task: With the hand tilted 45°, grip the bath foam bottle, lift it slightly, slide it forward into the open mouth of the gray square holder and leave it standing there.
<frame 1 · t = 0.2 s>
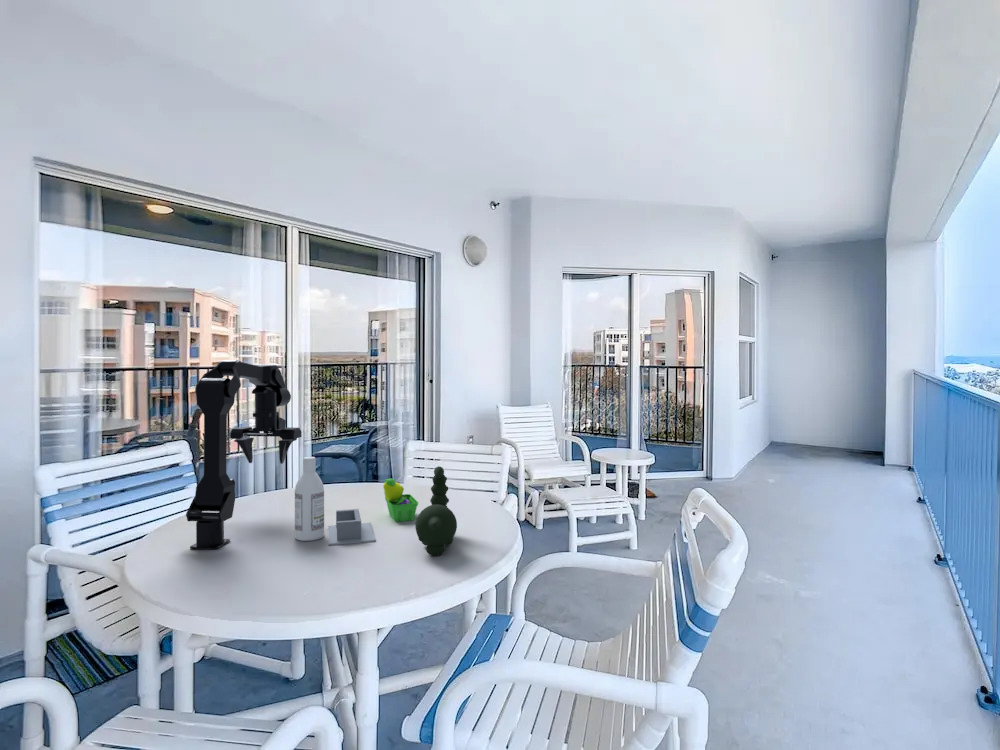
hand: (266, 463, 165), 15 cm above the table, tool pointing down, fingers open, 9 cm apart
dark green ornament: (437, 547, 137), on the table
gray square holder: (336, 535, 146), on the table
bath foam: (309, 538, 144), on the table
fruit basket: (399, 518, 163), on the table
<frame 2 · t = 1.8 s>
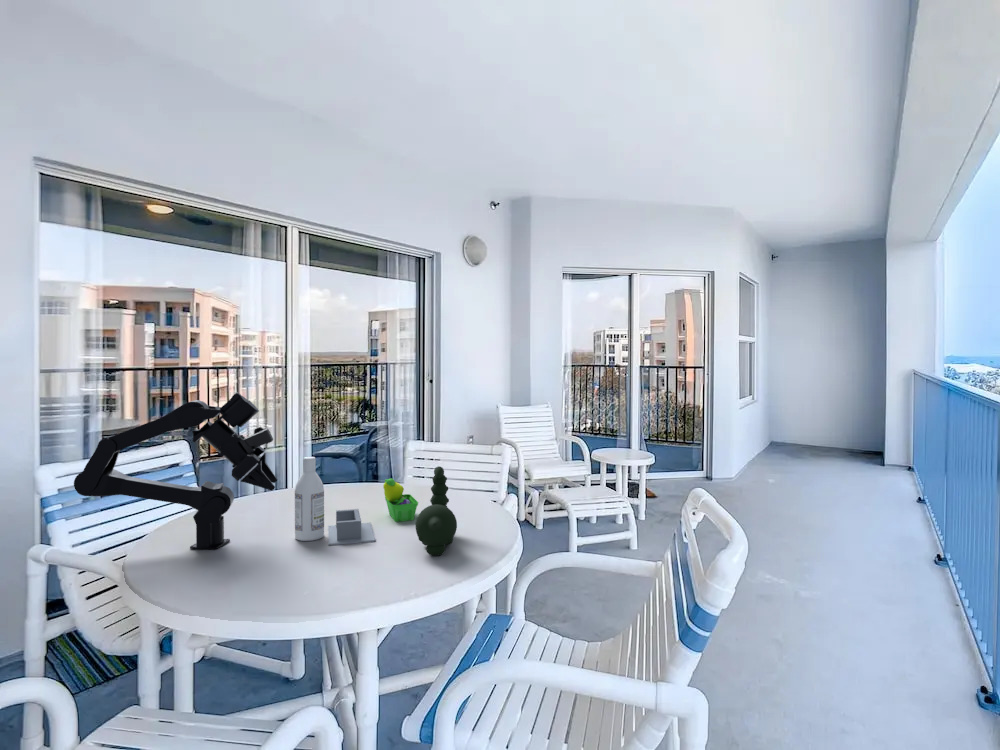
hand: (274, 485, 141), 13 cm above the table, tool tilted 45°, fingers open, 9 cm apart
nothing on the table moved.
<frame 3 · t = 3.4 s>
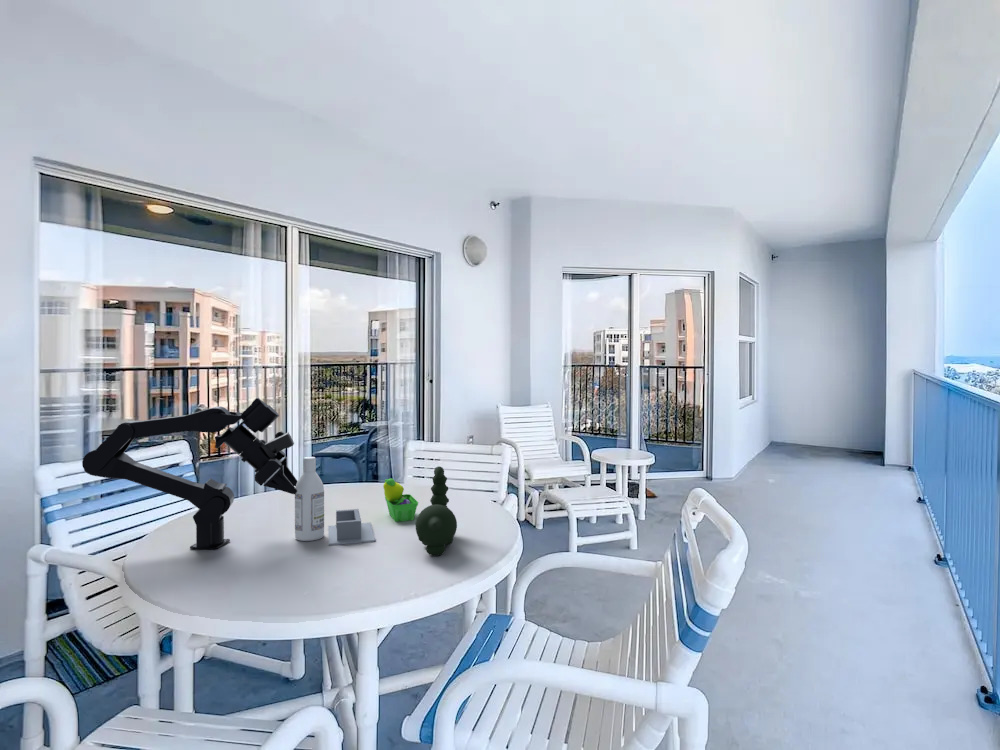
hand: (296, 488, 143), 12 cm above the table, tool tilted 45°, fingers open, 9 cm apart
nothing on the table moved.
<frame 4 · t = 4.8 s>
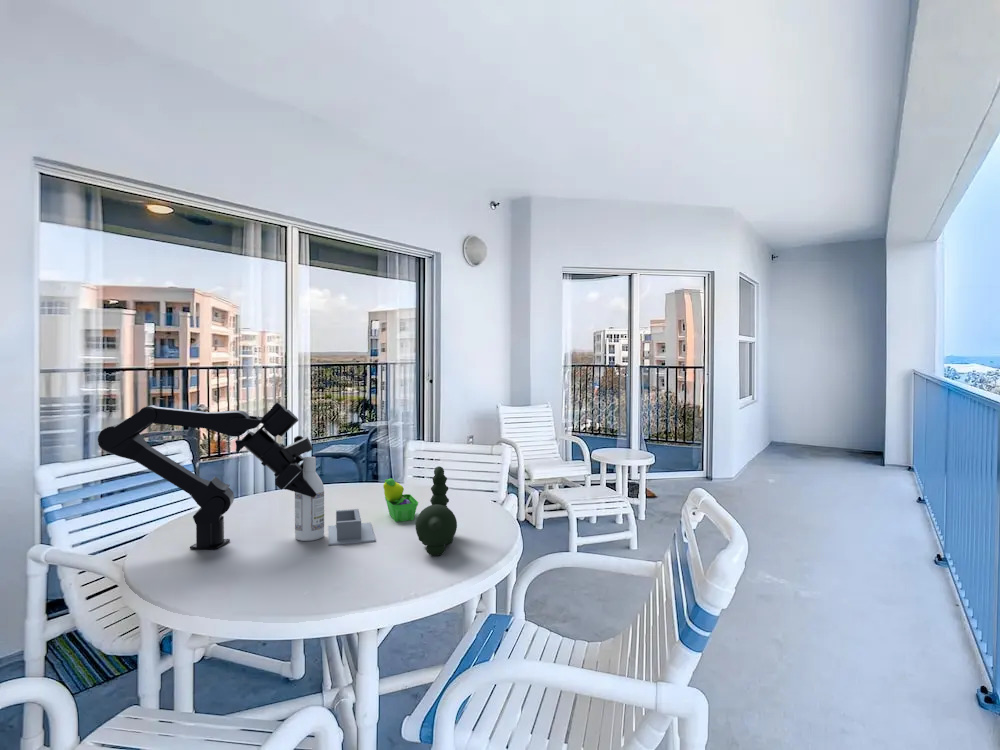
hand: (315, 492, 144), 11 cm above the table, tool tilted 45°, fingers closed on bath foam, 7 cm apart
bath foam: (309, 538, 144), on the table, touching gripper
everything else where it was.
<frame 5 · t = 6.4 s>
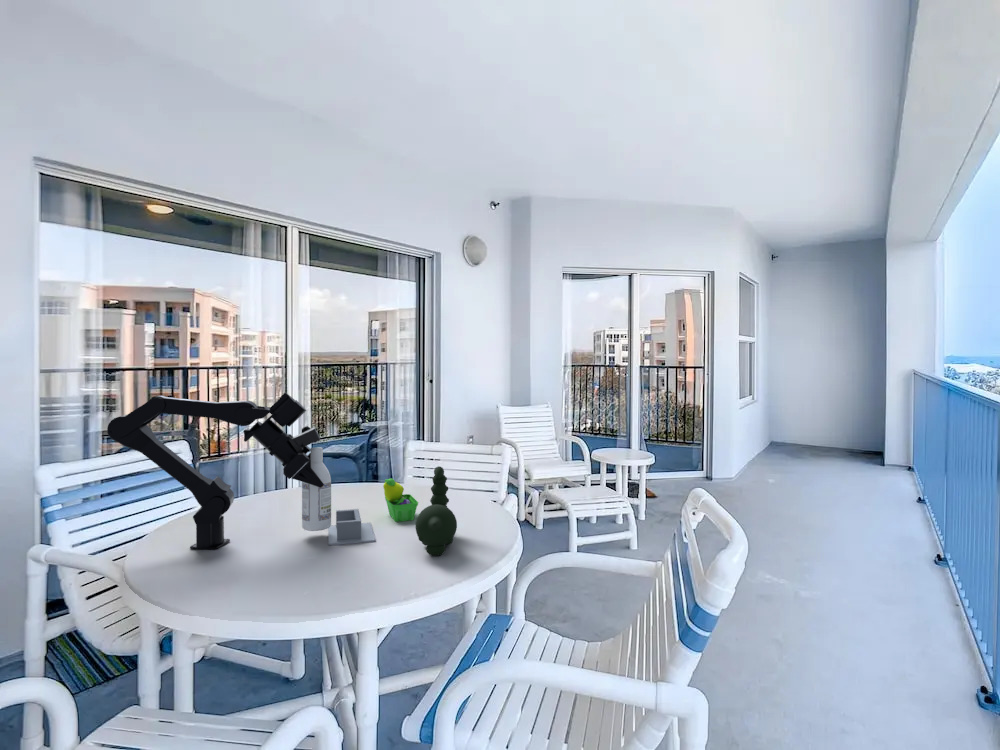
hand: (322, 483, 144), 13 cm above the table, tool tilted 45°, fingers closed on bath foam, 7 cm apart
bath foam: (316, 528, 144), point 2 cm above the table, touching gripper
everything else where it was.
when the fingers open (12 cm above the table, at t = 8.3 s): bath foam stays where it is, resting on gray square holder.
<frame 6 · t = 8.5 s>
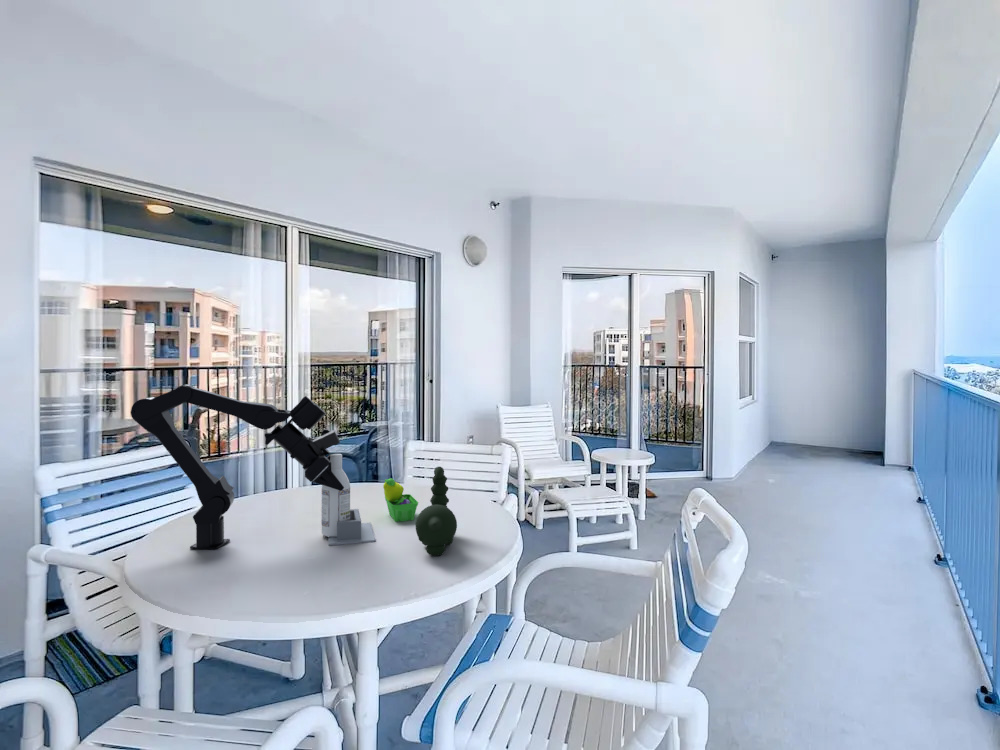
hand: (342, 485, 146), 13 cm above the table, tool tilted 45°, fingers open, 9 cm apart
bath foam: (335, 534, 146), resting on gray square holder
everything else where it was.
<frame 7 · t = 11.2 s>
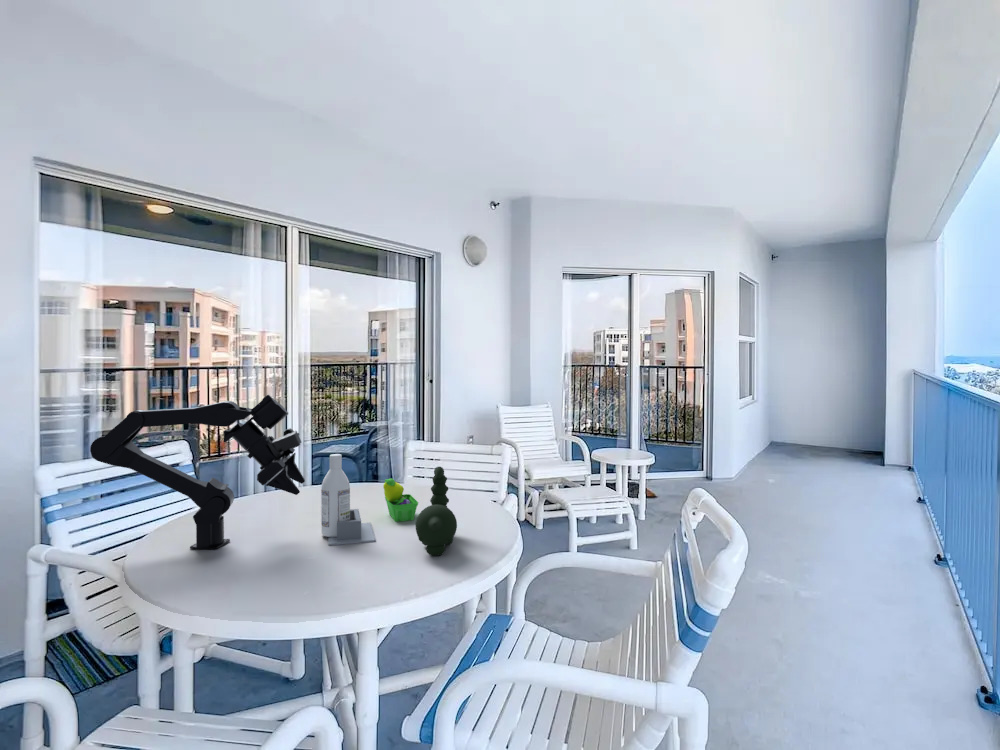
hand: (301, 487, 143), 13 cm above the table, tool tilted 40°, fingers open, 9 cm apart
nothing on the table moved.
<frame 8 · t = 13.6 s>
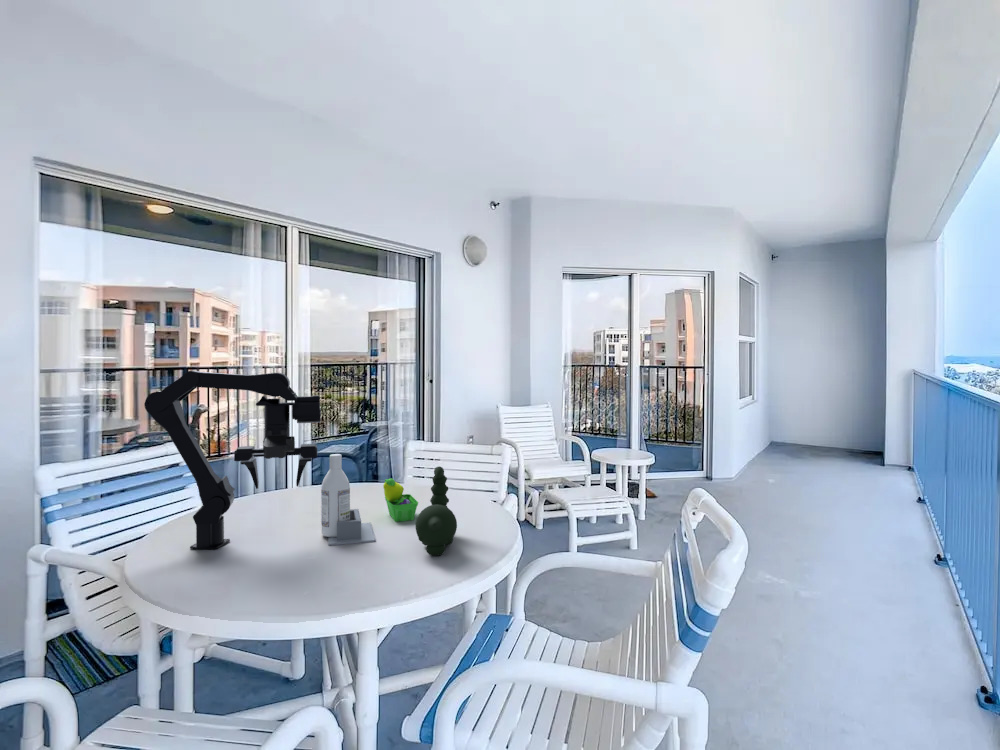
hand: (277, 487, 141), 13 cm above the table, tool pointing down, fingers open, 9 cm apart
nothing on the table moved.
at the end: bath foam 0.2 cm off-centre on the gray square holder, point 0.2 cm above the gray square holder's base; bath foam tilted 0°; the gripper is holding nothing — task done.
